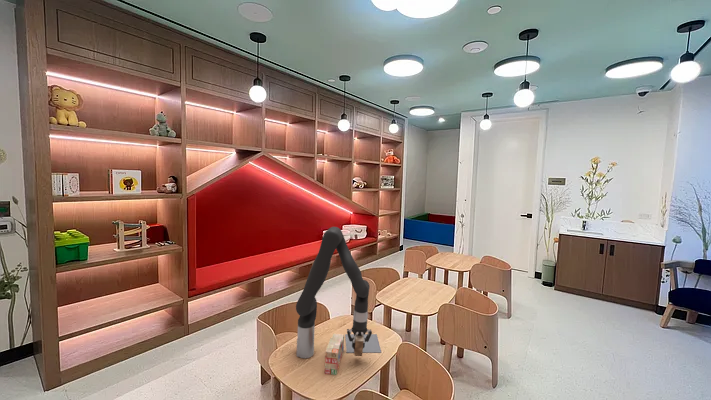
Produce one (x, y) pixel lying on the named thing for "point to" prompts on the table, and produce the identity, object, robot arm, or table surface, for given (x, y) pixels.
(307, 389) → the table surface
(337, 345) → the stack of blocks
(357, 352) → the walnut block
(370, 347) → the mat
